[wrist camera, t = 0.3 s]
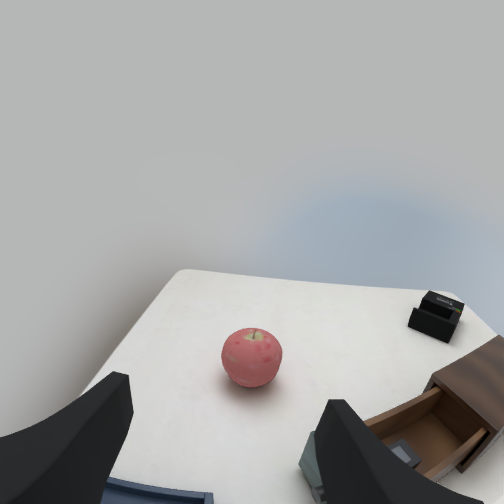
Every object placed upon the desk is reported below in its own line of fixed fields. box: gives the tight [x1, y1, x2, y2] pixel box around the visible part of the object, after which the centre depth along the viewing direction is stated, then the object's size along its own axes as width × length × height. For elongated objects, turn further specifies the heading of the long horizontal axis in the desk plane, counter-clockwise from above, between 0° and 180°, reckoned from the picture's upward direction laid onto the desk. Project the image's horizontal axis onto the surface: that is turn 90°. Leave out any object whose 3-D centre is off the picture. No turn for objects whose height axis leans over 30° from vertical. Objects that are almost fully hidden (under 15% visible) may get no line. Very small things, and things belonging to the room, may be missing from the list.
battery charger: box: [408, 290, 464, 343], centre depth 51 cm, size 13×10×4 cm
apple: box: [221, 328, 282, 387], centre depth 35 cm, size 7×7×8 cm
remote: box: [387, 438, 422, 469], centre depth 20 cm, size 4×7×2 cm, turn 108°
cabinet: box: [422, 335, 504, 473], centre depth 26 cm, size 20×12×8 cm, turn 108°
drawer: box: [299, 386, 489, 504], centre depth 20 cm, size 20×10×6 cm, turn 108°
